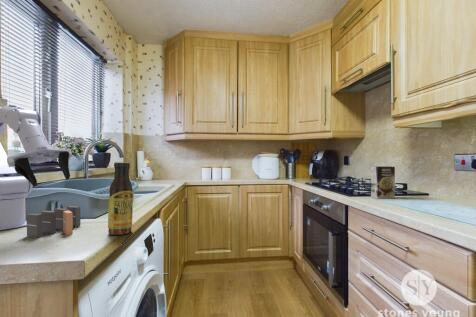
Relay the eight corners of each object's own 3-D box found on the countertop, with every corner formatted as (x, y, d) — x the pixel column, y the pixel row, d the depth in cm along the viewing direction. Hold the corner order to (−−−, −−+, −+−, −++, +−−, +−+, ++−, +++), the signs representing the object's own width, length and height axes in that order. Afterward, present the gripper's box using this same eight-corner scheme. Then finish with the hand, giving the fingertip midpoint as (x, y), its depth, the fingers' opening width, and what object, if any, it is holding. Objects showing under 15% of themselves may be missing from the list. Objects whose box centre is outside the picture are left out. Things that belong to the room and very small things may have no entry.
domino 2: (51, 234, 72) (50, 212, 72) (41, 232, 74) (41, 211, 74) (56, 232, 74) (56, 211, 74) (46, 231, 75) (46, 210, 75)
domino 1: (36, 237, 69) (36, 215, 69) (26, 236, 70) (26, 214, 70) (42, 236, 70) (42, 214, 70) (32, 235, 72) (32, 213, 72)
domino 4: (66, 234, 71) (66, 213, 71) (63, 232, 74) (63, 211, 74) (72, 233, 72) (72, 212, 72) (68, 231, 75) (68, 210, 75)
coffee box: (377, 198, 129) (377, 166, 129) (370, 197, 136) (370, 166, 136) (395, 198, 129) (395, 166, 129) (388, 196, 136) (387, 166, 136)
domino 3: (64, 230, 76) (64, 209, 76) (54, 229, 77) (54, 209, 77) (68, 229, 77) (68, 209, 77) (59, 227, 79) (59, 208, 79)
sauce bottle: (113, 237, 68) (112, 162, 68) (104, 233, 73) (103, 162, 73) (137, 232, 73) (136, 162, 73) (127, 228, 77) (127, 162, 77)
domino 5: (76, 227, 80) (76, 207, 80) (66, 226, 81) (66, 206, 81) (80, 225, 81) (80, 206, 81) (71, 224, 82) (71, 205, 82)
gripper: (1, 136, 66) (19, 178, 62) (65, 130, 77) (84, 166, 73) (1, 153, 70) (17, 194, 66) (62, 146, 81) (79, 180, 78)
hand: (52, 180), depth 70 cm, fingers open, 7 cm apart
